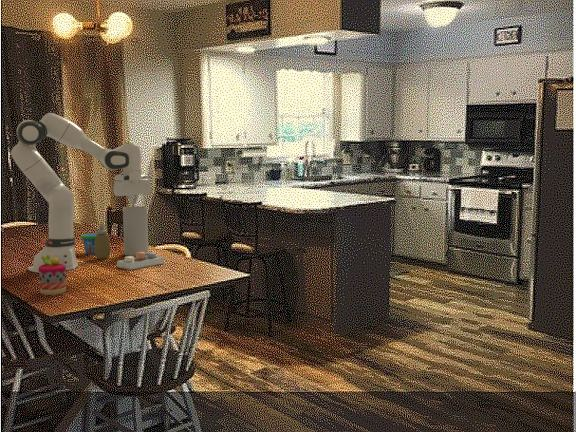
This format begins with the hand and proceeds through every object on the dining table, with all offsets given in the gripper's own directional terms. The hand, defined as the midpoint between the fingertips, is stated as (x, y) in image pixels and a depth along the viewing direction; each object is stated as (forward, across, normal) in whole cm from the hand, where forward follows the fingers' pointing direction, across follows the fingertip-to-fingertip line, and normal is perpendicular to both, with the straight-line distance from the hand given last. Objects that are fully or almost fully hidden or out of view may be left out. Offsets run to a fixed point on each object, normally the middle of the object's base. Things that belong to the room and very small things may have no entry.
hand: (133, 204), depth 313 cm
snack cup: (+29, +1, -35) cm, 46 cm away
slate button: (+27, -3, +9) cm, 29 cm away
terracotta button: (+26, +3, +9) cm, 27 cm away
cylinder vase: (+29, -13, -16) cm, 36 cm away
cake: (+29, +59, +26) cm, 71 cm away
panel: (+29, +3, +9) cm, 31 cm away
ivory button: (+27, +9, +9) cm, 30 cm away
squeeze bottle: (+29, +5, -20) cm, 36 cm away
